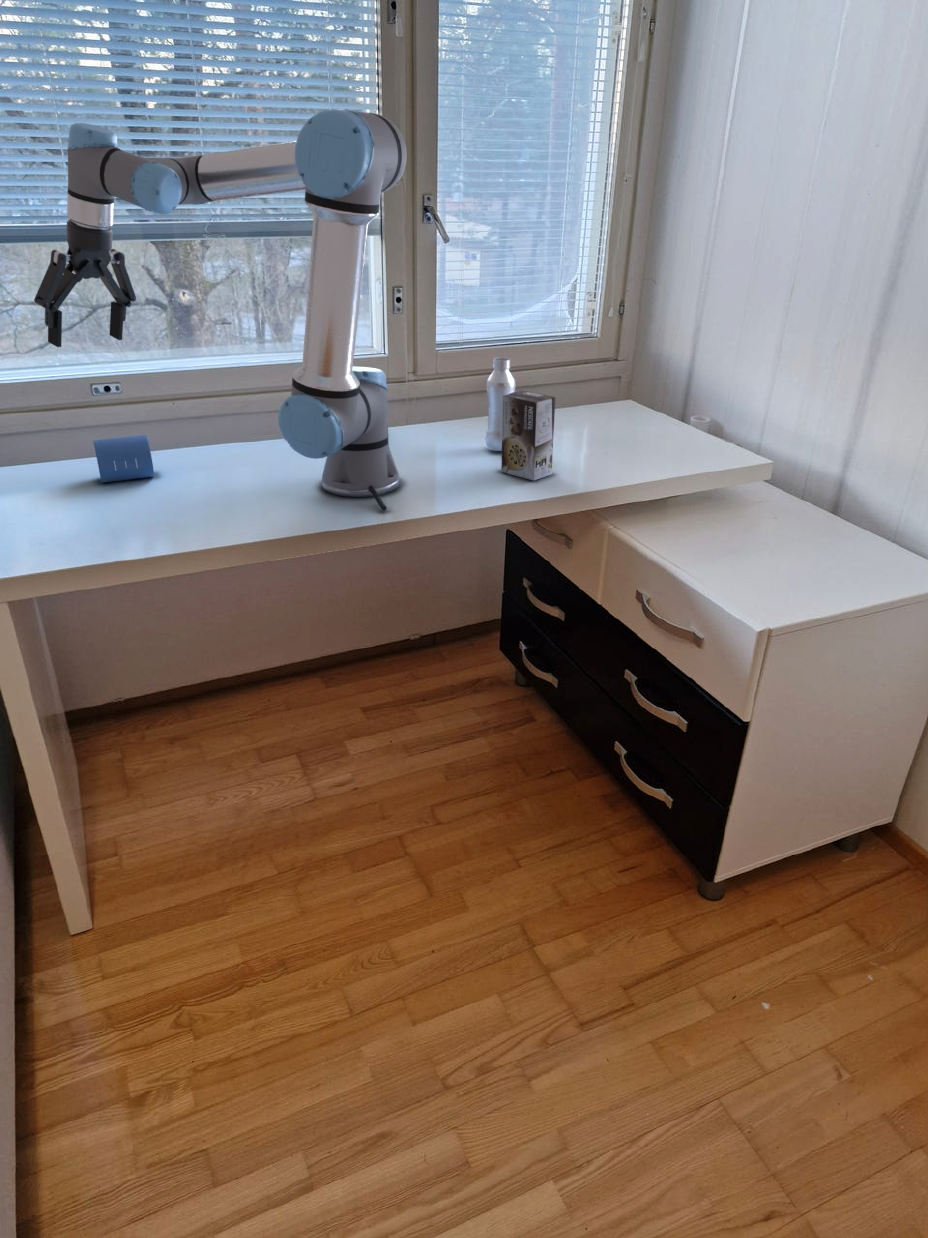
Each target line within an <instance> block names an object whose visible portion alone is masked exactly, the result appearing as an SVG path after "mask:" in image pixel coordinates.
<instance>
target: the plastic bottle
mask: <svg viewBox="0 0 928 1238" xmlns="http://www.w3.org/2000/svg"><path fill="white" fill-rule="evenodd" d="M492 360H493V361H492V369H493V370H492V372H491V374H490V375H489V377H488V378H487V380H486V385H485V386H486V395H487V405H488V406H487V407H488V417H487V429H486V432H485V445H486V447H487V448H488V450H490V451H495V452H502V396H504V395H508V394H510V393H513V392H516V386H517V385H516V379H515V378H514V376H513V374H512V373H511V371H510V369H511V358H510V357H494V358H493V359H492Z"/></svg>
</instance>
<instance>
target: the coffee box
mask: <svg viewBox="0 0 928 1238" xmlns="http://www.w3.org/2000/svg"><path fill="white" fill-rule="evenodd" d="M555 412H556V396H554V395H548V394H544V393H538V392H532V391H528V390H522V389H521V390H517V391H515V392H513V393H510V394H508V395H504V396H502V451H501V466H500V467H501V468H500V472H501V473H504V474H507V475H511V476H515V477H519V478H522V479H526V480H530V481H532V482H533V481H537V480H539V479H542V478H545V477H548V476H551V475H553V455H554V452H553V451H554V436H555V435H554V433H555V432H554V431H555V414H556V413H555Z"/></svg>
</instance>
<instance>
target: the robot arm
mask: <svg viewBox="0 0 928 1238" xmlns="http://www.w3.org/2000/svg"><path fill="white" fill-rule="evenodd" d="M67 143H68V144H67V148H66V151H67V194H66V195H67V197H66V216H67V218H68V220H67V221H66V241H67V246H68V248H67V251H66V252H60V251H59V250H57V249H53V250H52V251H51V252H50V261H49V265H48V266H47V268H46V271H45V274H44V276H43V278H42V281H41V283H40V285H39V288H38V289H37V292H36V294H35V297H34V299H33V301H34V303H35V304H37V305H38V306H40V307H42V308H44V324H45V326H46V327H47V342H48V343H49V344H51V345H53V346H55V347H57V348H61V347H62V340H63V339H62V333H63V331H62V329H63V311H62V310H60V307H61V306H62V305H63V303H64V302H65V300H66V299H67V298H68V296H69V294H70V293H71V292H72V291H73V289H74V288H75V287H76V285H77V283H80V282H81V281H82V280H83V279H84V280H89V279H100V280H101V282H102V284H103V285H104V286H105V288H106V289H107V290H108V292H109V293H110V296H112V298H113V299H114V301H110V315H109V336H110V337H112V338H114V339H116V340H118V341H122V340H123V332H124V331H123V330H124V322H125V321H126V320H127V308H130V307H131V306H132V303H134V302H136V301H137V296H136V293H135V290H134V288H133V285H132V282H131V278H130V276H129V273H128V270H127V267H126V260H125V259H126V258H125V254H124V253H123V252H121V251H120V250H117V249H115V248H113V235H114V231H113V229H112V227H113V226H114V220H115V219H114V218H115V217H114V216H115V198H117V199H119V200H121V201H124V202H126V203H129V204H132V205H134V206H137V207H139V208H142V209H143V210H145V211H147V212H154V213H156V214H161V215H168V214H170V213H172V211H173V210H175V209H176V208H177V207H178V205H179V206H180V205H183V206H184V205H193V206H194V205H205V204H207V203H211V202H217V201H218V202H219V201H225V200H226V201H227V200H235V199H241V198H251V197H259V196H266V195H267V196H268V195H274V194H282V193H283V194H284V193H292V192H298V191H299V192H300V191H305V192H304V204H305V205H306V206H307V208H308V209H309V211H310V212H311V214H312V216H313V220H312V232H311V244H310V245H311V246H310V257H309V258H310V260H309V273H308V284H307V286H308V287H307V297H306V298H307V299H306V310H305V311H306V312H305V324H304V339H303V349H302V364H301V365H300V366H299V367H298V368H296V369H295V370H294V371H293V373H292V376H291V377H292V380H291V391H290V392H291V393H290V396H289V397H287V398H286V399H285V400H284V401H283V403H282V404H281V406H280V408H279V410H278V416H277V422H278V427H279V431H280V433H281V436H282V438H283V440H285V441H286V442H287V444H288V445H289V447H290V448H291V449H292V450H293V451H294V452H296V453H297V454H299V455H300V456H303V457H305V458H308V459H317V460H318V459H324V458H326V459H325V462H324V467H323V471H322V475H321V484H322V485H321V486H322V489H323V490H325V491H326V492H327V493H330V494H333V495H336V496H341V497H347V498H365V497H366V498H368V497H373V498H374V500H375V501H376V503H377V505H378V507H379V508H380V510H382V511H384V512H385V511H387V509H388V507H387V505H386V504H385V503H384V501H383V500H382V498H381V495H385V494H387V493H391V492H393V491H394V490H396V489H397V488H398V487H399V485H400V475H399V471H398V468H397V465H396V462H395V460H394V457H393V454H392V452H391V449H390V445H389V444H390V443H389V413H388V412H389V411H388V410H389V409H388V390H389V388H388V385H387V376H386V374H385V372H384V371H383V370H382V369H380V368H375V367H369V366H368V367H367V366H356V365H355V366H354V359H355V349H356V340H357V331H358V330H357V329H358V321H359V313H360V311H359V310H360V304H361V303H360V302H361V294H362V293H361V292H362V282H363V273H364V264H365V256H366V255H365V254H366V244H367V236H368V226H369V224H370V223H371V222H372V221H374V219H376V218H377V217H378V216H379V213H380V203H381V197H382V195H381V194H382V193H385V192H387V191H389V190H390V189H392V188H393V187H394V186H395V185H397V184H398V183H399V181H400V180H401V178H402V177H403V174H404V172H405V169H406V166H407V155H408V154H407V146H406V142H405V140H404V137H403V134H402V132H401V131H400V129H399V128H398V127H397V126H396V125H395V123H394V122H392V120H390V119H389V118H388V117H385V116H383V114H378V113H374V112H364V111H357V110H351V109H348V108H334V109H333V108H332V109H326V110H321V111H320V112H317V113H316V114H314V115H313V116H311V117H310V118H309V119H308V120H307V121H306V122H305V123H304V124H303V126H302V128H300V131H299V132H298V136H297V139H296V140H295V141H288V142H282V143H273V144H268V145H261V146H255V147H248V148H240V149H235V150H228V151H221V152H215V153H209V154H199V155H193V156H192V155H191V156H186V157H144V156H140V155H137V154H134V153H130V152H128V151H126V150H123V149H121V148H118V147H119V145H118V137H117V134H116V133H115V132H114V131H112V130H111V129H108V128H106V127H104V126H99V125H95V124H91V123H87V122H85V123H84V122H75V123H73V124H72V125H70V127H69V132H68V142H67ZM109 264H110V265H111V268H112V270H113V273H114V275H115V279H116V280H115V279H114V277H113V276H114V275H113V274H112V272H111V270H110V269H109V268H108V266H109Z"/></svg>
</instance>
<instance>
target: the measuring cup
mask: <svg viewBox="0 0 928 1238" xmlns="http://www.w3.org/2000/svg"><path fill="white" fill-rule="evenodd" d="M92 441H93V446H94V450H95V451H94V452H95V458H96V462H97V468H98V471H99V477H100V481H101V483H111V482H113V483H114V482H119V481H120V482H121V481H128V480H129V481H130V480H138V479H145V478H153V477H155V469H154V463H153V457H152V452H151V447H150V443H149V438H148V435H147V434H141V435H130V436H120V437H111V438H101V439H93V440H92Z"/></svg>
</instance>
